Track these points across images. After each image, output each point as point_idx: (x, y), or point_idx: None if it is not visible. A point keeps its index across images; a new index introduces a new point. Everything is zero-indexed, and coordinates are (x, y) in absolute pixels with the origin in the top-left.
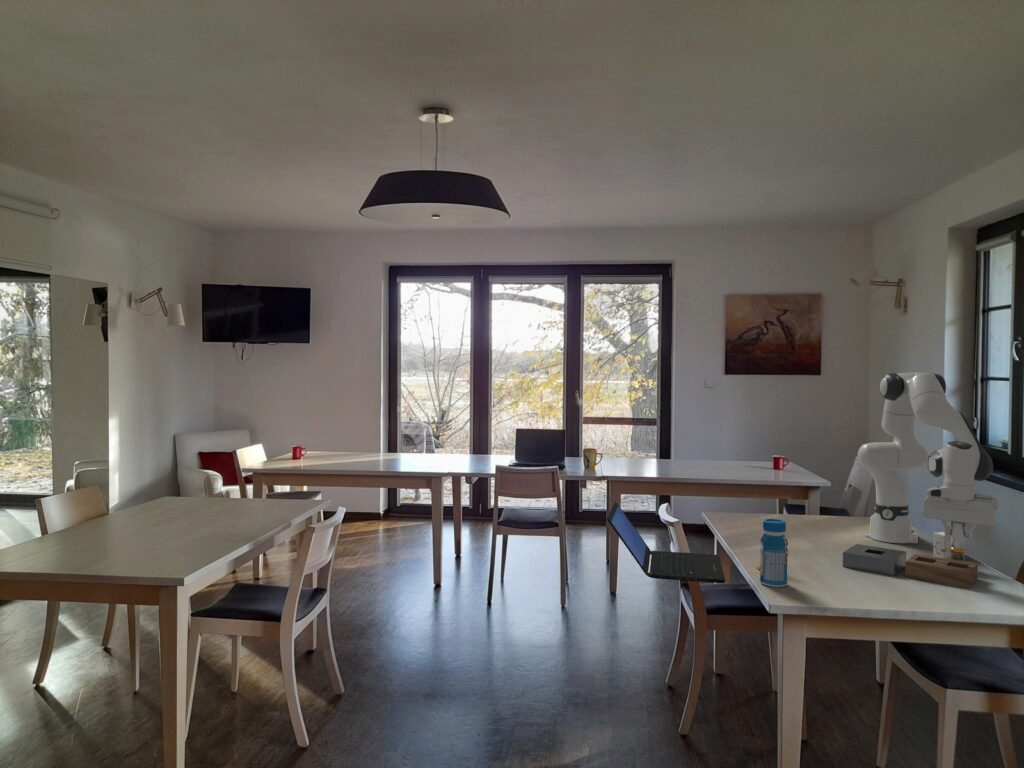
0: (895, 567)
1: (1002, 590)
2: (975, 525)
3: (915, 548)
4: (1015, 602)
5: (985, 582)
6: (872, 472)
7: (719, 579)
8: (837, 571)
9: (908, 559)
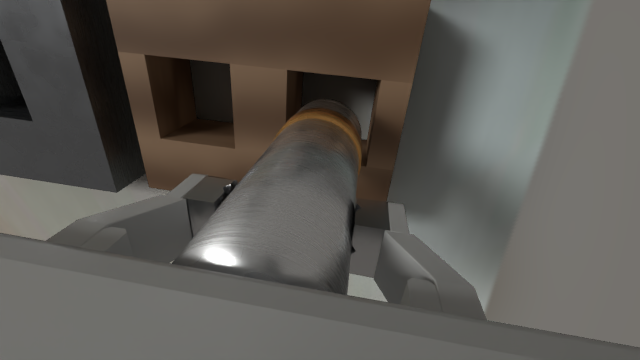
0: (134, 161)
1: (493, 149)
2: (476, 303)
3: None
4: (499, 266)
5: (446, 54)
6: None
7: None
8: (39, 205)
9: (139, 140)
